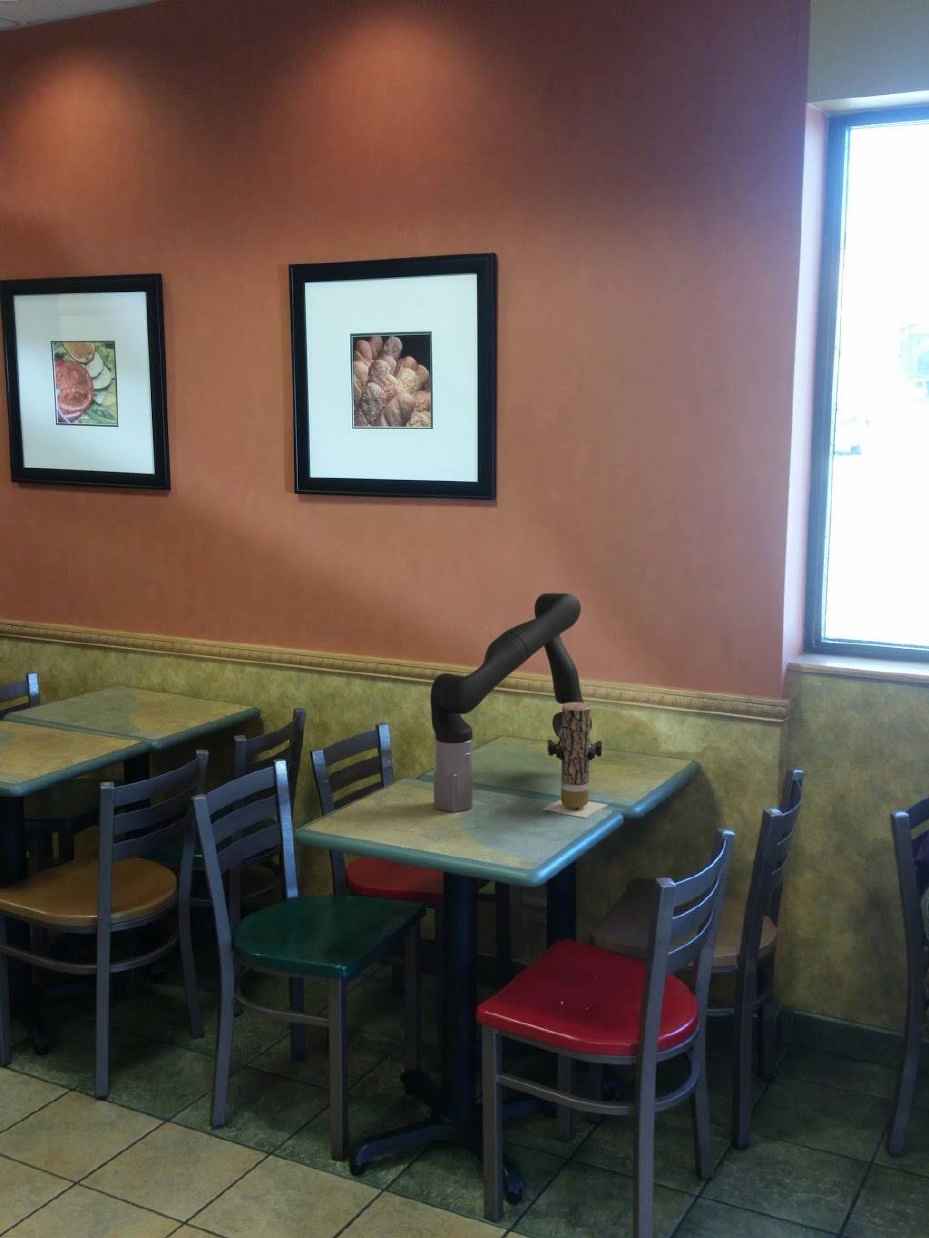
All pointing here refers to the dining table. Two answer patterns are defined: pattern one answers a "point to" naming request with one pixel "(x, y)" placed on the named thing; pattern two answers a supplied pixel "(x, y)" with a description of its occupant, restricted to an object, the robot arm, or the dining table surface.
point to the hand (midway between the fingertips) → (575, 756)
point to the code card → (576, 809)
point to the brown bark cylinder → (575, 754)
